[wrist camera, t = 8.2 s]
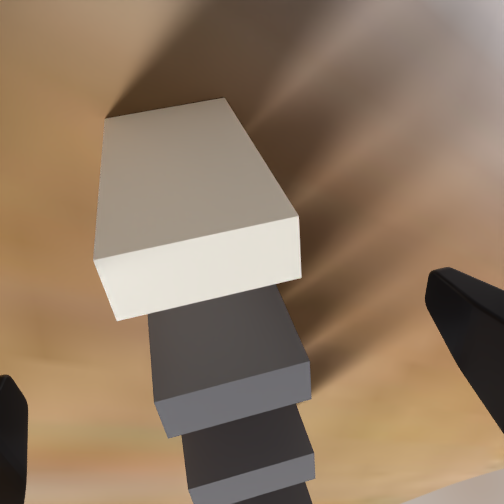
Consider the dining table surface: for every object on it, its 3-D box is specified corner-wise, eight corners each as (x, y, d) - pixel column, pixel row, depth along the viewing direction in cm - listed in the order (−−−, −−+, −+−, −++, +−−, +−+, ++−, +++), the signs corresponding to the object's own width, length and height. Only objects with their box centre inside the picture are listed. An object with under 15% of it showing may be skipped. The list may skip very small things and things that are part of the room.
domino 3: (257, 317, 27) (315, 478, 19) (173, 337, 26) (197, 513, 18) (253, 291, 26) (314, 452, 18) (166, 312, 25) (188, 489, 17)
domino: (246, 241, 24) (311, 398, 16) (151, 263, 23) (168, 438, 15) (242, 208, 22) (309, 361, 14) (141, 230, 22) (154, 402, 14)
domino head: (230, 142, 20) (301, 278, 12) (118, 163, 20) (116, 320, 12) (224, 97, 19) (298, 215, 11) (104, 118, 18) (93, 260, 11)
